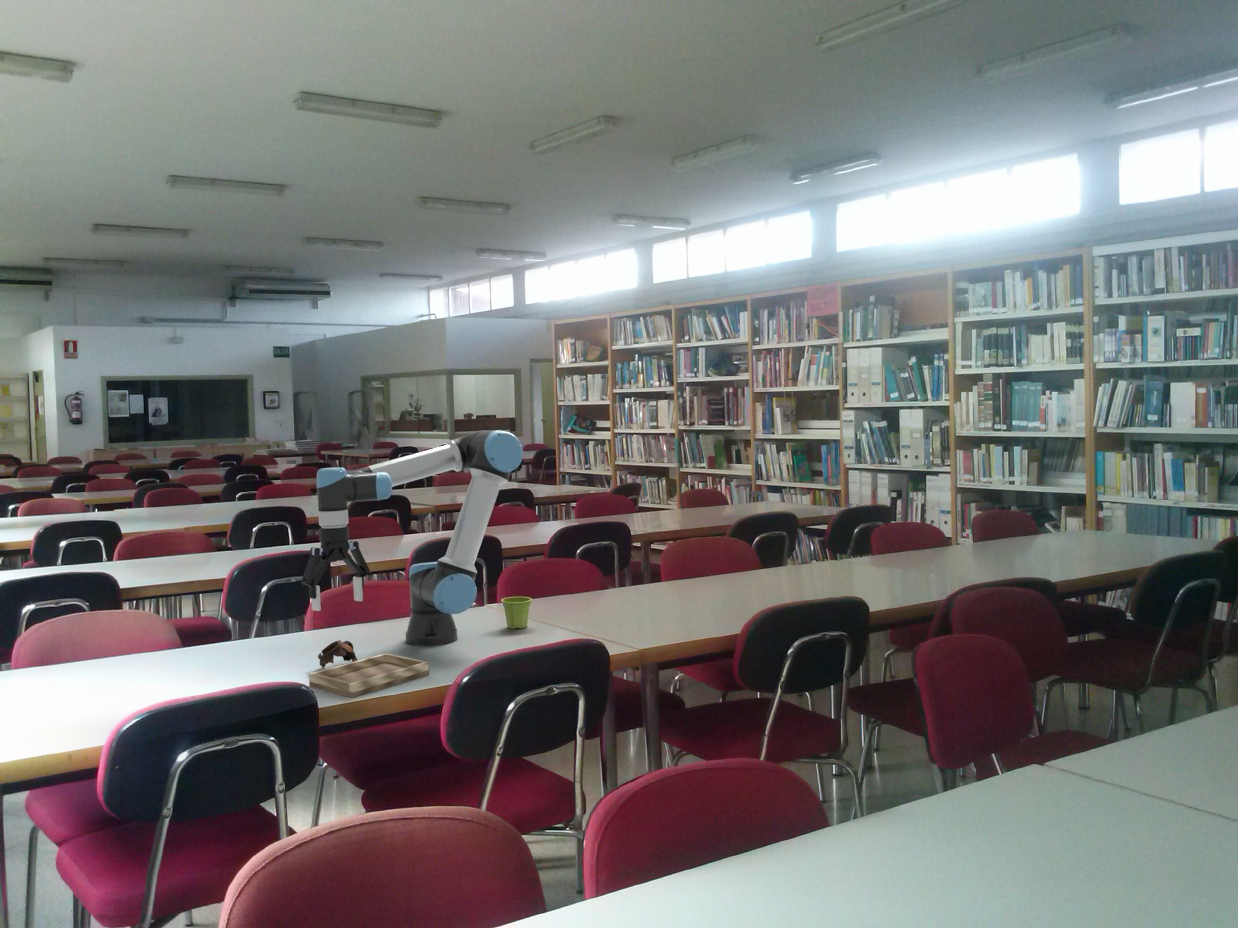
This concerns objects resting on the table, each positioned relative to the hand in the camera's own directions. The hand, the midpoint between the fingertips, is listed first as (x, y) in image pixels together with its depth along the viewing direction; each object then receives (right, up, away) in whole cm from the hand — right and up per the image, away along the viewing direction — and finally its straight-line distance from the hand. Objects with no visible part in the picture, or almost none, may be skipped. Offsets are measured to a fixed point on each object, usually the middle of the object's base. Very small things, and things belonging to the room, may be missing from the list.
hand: (337, 605), depth 261 cm
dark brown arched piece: (0, -17, +1) cm, 17 cm away
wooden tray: (+12, -17, -13) cm, 24 cm away
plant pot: (+43, -13, +44) cm, 63 cm away
